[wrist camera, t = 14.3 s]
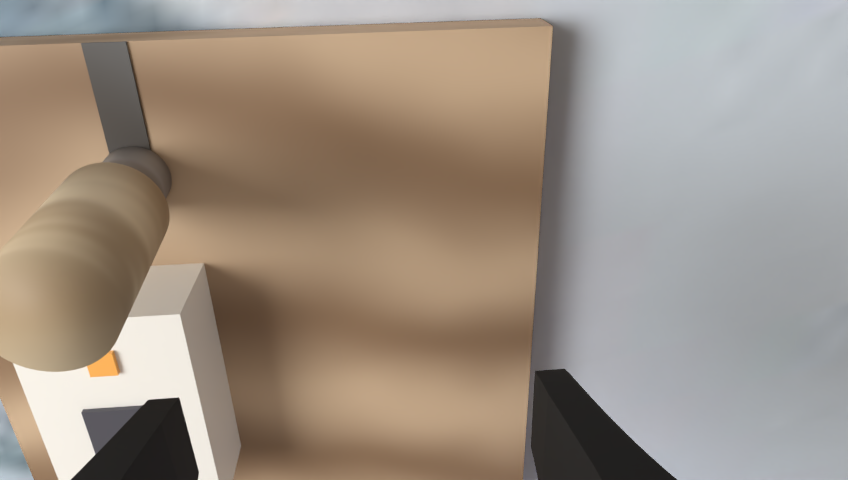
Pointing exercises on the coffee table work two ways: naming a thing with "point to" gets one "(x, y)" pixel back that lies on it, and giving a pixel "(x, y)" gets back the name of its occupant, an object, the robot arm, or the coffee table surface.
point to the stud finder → (144, 379)
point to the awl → (82, 262)
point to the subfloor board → (322, 224)
